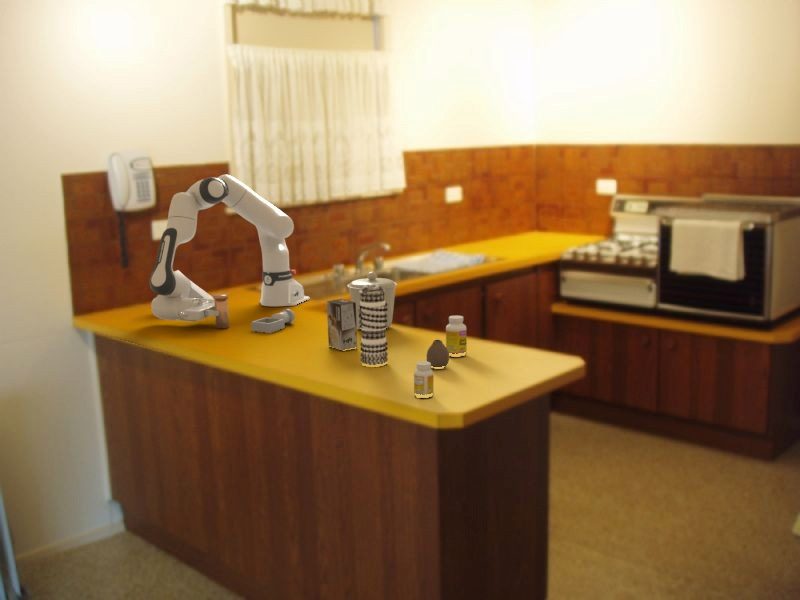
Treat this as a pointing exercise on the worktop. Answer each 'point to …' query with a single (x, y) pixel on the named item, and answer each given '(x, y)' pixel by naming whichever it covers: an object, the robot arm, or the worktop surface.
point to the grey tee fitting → (273, 322)
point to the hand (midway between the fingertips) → (223, 311)
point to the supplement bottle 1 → (423, 378)
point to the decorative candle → (373, 325)
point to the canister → (372, 280)
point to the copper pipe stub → (221, 310)
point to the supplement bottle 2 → (456, 335)
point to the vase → (437, 354)
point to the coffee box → (342, 324)
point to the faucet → (196, 290)
